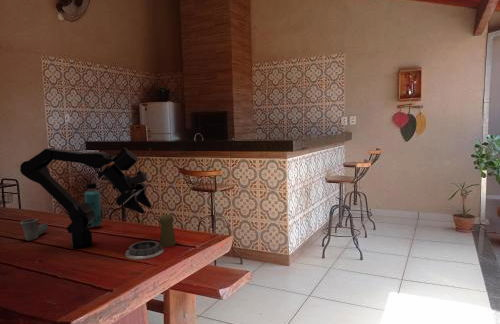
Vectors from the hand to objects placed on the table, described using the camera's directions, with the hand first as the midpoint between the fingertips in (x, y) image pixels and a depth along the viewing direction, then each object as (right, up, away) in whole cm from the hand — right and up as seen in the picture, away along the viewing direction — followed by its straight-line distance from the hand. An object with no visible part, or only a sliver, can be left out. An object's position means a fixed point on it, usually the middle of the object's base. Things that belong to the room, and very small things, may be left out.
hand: (147, 209), depth 141 cm
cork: (+8, -13, 0) cm, 15 cm away
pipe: (-50, -13, +14) cm, 54 cm away
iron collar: (+1, -14, -8) cm, 16 cm away
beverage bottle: (-30, -11, +26) cm, 41 cm away
